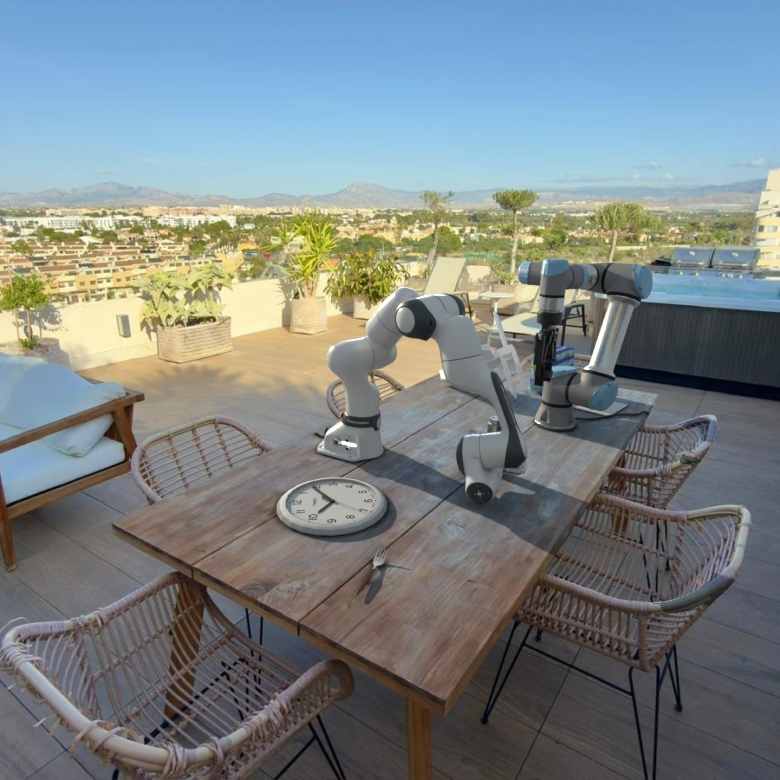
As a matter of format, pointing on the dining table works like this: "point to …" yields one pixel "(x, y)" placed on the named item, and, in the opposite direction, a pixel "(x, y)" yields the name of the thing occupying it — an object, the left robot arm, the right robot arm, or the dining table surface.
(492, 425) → the silver metal canister
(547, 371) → the lid
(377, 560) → the fork
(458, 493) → the dining table surface
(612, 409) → the invitation card
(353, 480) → the wall clock
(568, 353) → the lunch box
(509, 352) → the white plastic object
